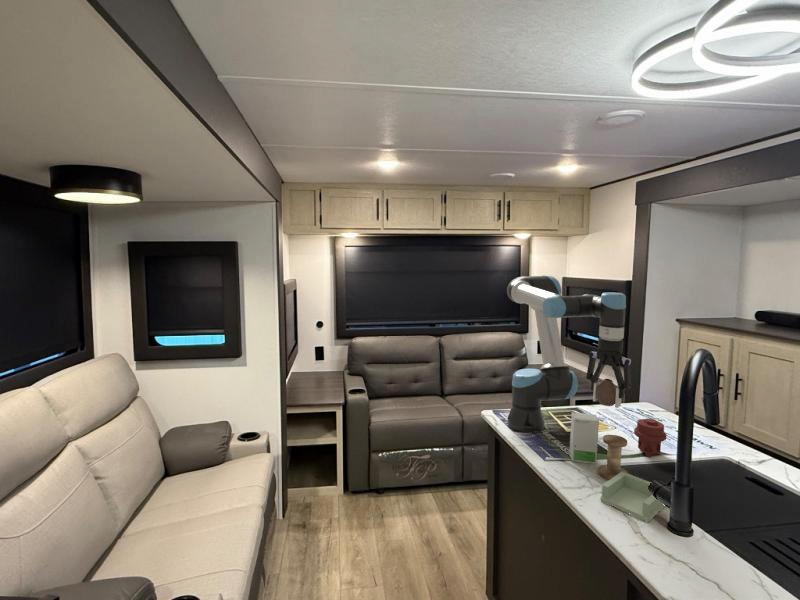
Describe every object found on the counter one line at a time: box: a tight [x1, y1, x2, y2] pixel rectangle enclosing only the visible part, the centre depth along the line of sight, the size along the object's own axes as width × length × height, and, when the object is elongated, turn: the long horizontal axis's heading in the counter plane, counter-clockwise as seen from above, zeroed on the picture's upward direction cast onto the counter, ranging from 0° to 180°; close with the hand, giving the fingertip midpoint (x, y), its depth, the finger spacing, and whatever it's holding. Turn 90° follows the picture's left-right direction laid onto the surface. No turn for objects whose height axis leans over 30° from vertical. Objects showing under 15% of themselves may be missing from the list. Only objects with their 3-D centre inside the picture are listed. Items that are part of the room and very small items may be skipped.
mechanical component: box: [633, 418, 667, 458], centre depth 153 cm, size 12×10×10 cm
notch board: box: [599, 472, 665, 523], centre depth 124 cm, size 13×13×5 cm
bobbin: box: [597, 434, 630, 481], centre depth 139 cm, size 9×9×12 cm
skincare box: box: [568, 411, 600, 465], centre depth 150 cm, size 8×7×16 cm
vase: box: [596, 378, 618, 407], centre depth 147 cm, size 7×7×9 cm
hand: (606, 403), depth 148 cm, fingers closed on vase, 7 cm apart
